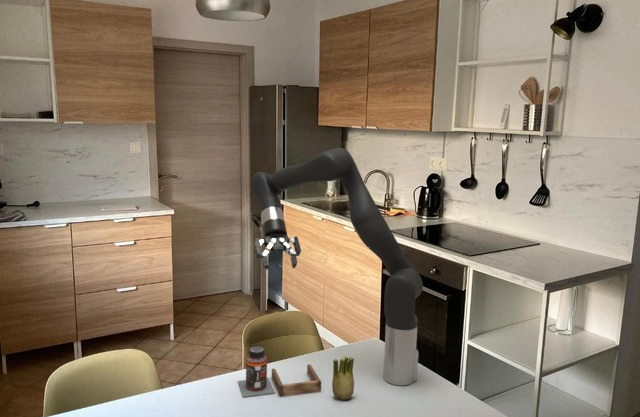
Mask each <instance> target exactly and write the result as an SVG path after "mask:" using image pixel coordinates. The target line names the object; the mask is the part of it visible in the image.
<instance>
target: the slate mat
mask: <svg viewBox="0 0 640 417" xmlns="http://www.w3.org/2000/svg"><path fill="white" fill-rule="evenodd" d="M237 383H238V387H239V390H240V393H241V396H242V398H243V399H244V398H246V399H247V398H253V397H260V396H268V395H274V394H275V393H276V392H275V390H274V387H273V385H272V383H271V381H270V378H269V377H267V384H266V387H265V388H263V389H261V390H251V389H248V388H247V387H246V379H244V380H237ZM275 395H276V394H275Z"/></svg>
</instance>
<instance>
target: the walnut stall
mask: <svg viewBox="0 0 640 417" xmlns="http://www.w3.org/2000/svg"><path fill="white" fill-rule="evenodd" d="M306 374H307V375H306V376H308V378H309V379H310V380H309V381H300V382H292V383H286V384H284V383H283V382H282V380H281V378H280V376H279V374H278V372H277V370H276V368H271V380H272V383H273V384H274V387H275V388H276V392H277V394H278V396H279V398H281V397H290V396H297V395H303V394H312V393H313V394H314V393H320V392H322V380H321V379H320V377H319V375H318V374H317V372H316V371H315V368H313V366H312V365H311V364H307V367H306Z"/></svg>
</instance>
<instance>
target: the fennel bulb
mask: <svg viewBox="0 0 640 417" xmlns="http://www.w3.org/2000/svg"><path fill="white" fill-rule="evenodd" d="M338 360H339V361H338ZM354 360H355V358H354V357H352V356H346V355H345V356H344V357H341V358H340V359H338V358H336V357H335V358H333V362H332V363H333V368H332V369H333V371H332V382H331V383H332V384H331V386H332V389H331V390H332V394H333V396H334V398H337V399H339V400H341V401H347V400H350V399H351V398H352V396H353V394H354V391H355V380H354V370H353V369H354Z"/></svg>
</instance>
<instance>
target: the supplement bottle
mask: <svg viewBox="0 0 640 417" xmlns="http://www.w3.org/2000/svg"><path fill="white" fill-rule="evenodd" d="M267 376H268V358H267V355H266V354H265V348H263V347H262V346H253V347H250V348H249V354H248V355H247V356H246V361H245V380H246V387H247V388H248V389H251V390H261V389H263V388H265V387H266V384H267Z"/></svg>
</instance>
